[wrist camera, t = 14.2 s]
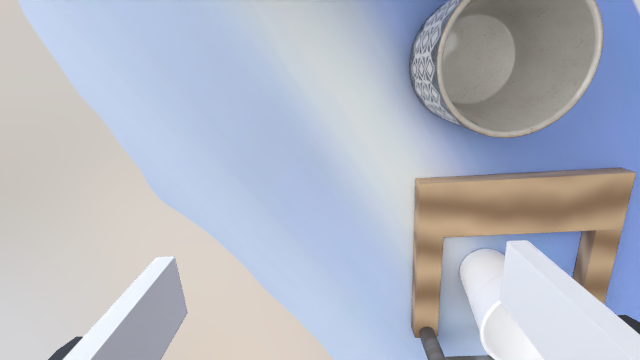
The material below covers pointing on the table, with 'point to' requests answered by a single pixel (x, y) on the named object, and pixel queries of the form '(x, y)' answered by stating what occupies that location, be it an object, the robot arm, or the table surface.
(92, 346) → the robot arm
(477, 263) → the cup
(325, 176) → the table surface
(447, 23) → the planter
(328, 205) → the table surface
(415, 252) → the wooden frame with crossbar
